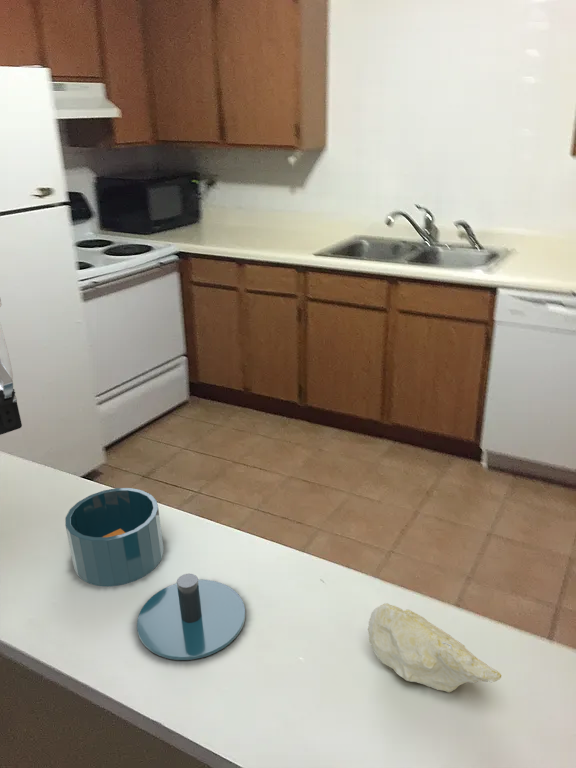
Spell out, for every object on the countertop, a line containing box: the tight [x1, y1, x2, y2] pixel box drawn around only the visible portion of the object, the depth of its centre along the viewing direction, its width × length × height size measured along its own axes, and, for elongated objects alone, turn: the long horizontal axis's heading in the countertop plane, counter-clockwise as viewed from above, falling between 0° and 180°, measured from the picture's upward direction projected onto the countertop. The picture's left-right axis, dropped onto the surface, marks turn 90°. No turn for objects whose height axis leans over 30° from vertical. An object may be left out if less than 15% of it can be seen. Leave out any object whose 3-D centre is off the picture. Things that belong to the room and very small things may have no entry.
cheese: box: [367, 602, 502, 693], centre depth 81 cm, size 15×7×15 cm
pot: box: [64, 487, 165, 587], centre depth 103 cm, size 14×14×8 cm
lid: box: [136, 573, 246, 661], centre depth 90 cm, size 15×15×7 cm
